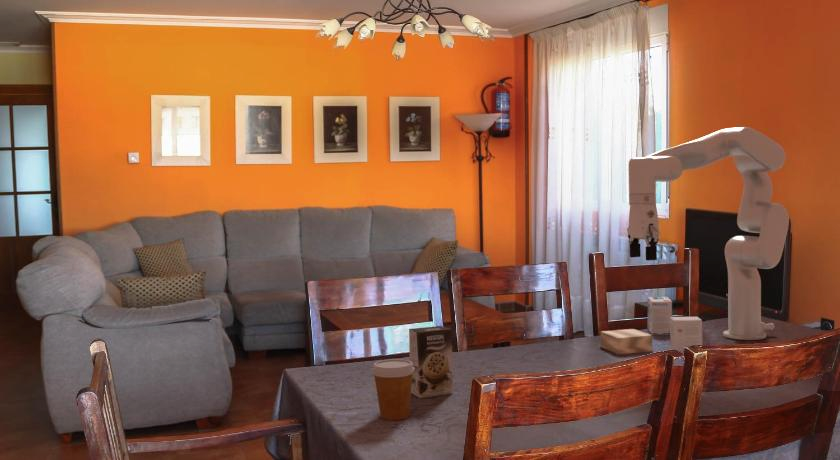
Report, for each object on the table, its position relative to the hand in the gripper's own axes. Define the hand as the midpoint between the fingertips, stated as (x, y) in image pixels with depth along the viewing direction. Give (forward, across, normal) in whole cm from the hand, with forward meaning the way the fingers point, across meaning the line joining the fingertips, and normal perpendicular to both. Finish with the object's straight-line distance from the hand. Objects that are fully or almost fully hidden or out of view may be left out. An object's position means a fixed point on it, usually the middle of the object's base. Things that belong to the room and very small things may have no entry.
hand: (643, 258), depth 246 cm
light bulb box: (+28, +25, -19) cm, 42 cm away
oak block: (+28, +4, +4) cm, 28 cm away
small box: (+28, -8, -9) cm, 30 cm away
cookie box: (+27, -26, +71) cm, 80 cm away
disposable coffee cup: (+27, -42, +83) cm, 97 cm away
